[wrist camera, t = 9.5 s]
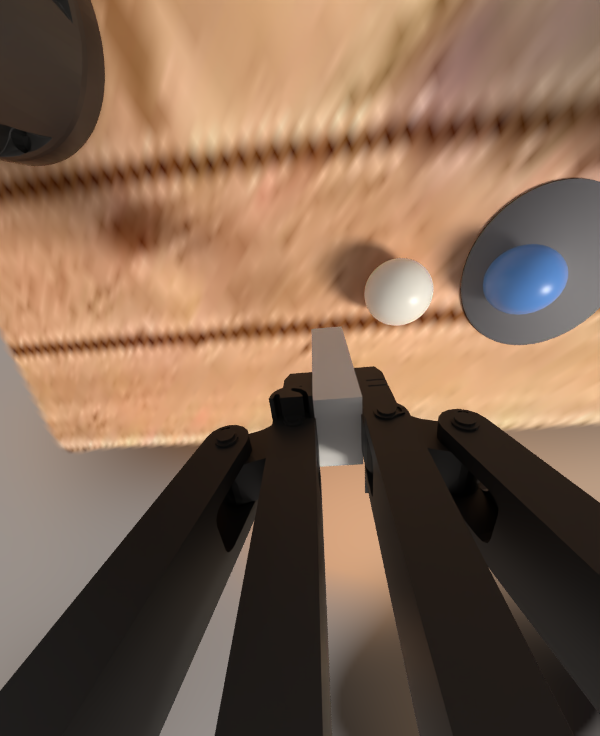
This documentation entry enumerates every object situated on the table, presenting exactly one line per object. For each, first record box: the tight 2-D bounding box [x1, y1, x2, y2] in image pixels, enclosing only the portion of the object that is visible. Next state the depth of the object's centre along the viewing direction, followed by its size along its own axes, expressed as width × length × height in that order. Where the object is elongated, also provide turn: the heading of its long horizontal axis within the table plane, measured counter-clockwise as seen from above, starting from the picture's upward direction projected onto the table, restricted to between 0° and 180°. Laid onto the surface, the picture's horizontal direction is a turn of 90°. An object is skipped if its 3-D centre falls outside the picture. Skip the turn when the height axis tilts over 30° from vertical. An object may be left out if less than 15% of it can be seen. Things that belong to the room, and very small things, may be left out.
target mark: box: [461, 179, 600, 345], centre depth 26 cm, size 14×14×1 cm
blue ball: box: [483, 244, 568, 315], centre depth 24 cm, size 6×6×6 cm
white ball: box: [364, 258, 433, 326], centre depth 25 cm, size 6×6×6 cm
